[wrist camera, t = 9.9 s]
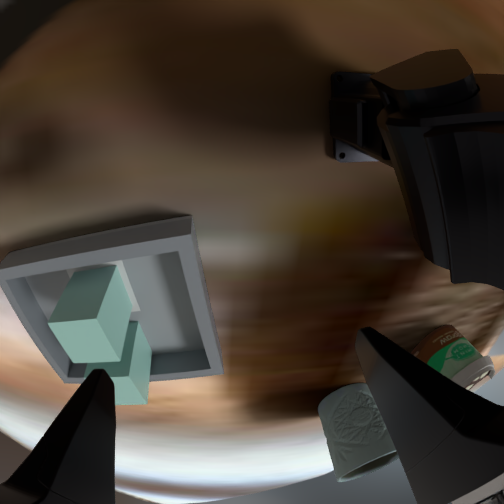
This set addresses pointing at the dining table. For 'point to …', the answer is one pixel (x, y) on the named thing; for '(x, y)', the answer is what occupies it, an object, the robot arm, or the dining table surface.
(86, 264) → the tray
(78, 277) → the block
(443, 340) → the food container
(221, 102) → the dining table surface
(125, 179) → the dining table surface
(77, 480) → the robot arm
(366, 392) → the grey green cylinder
